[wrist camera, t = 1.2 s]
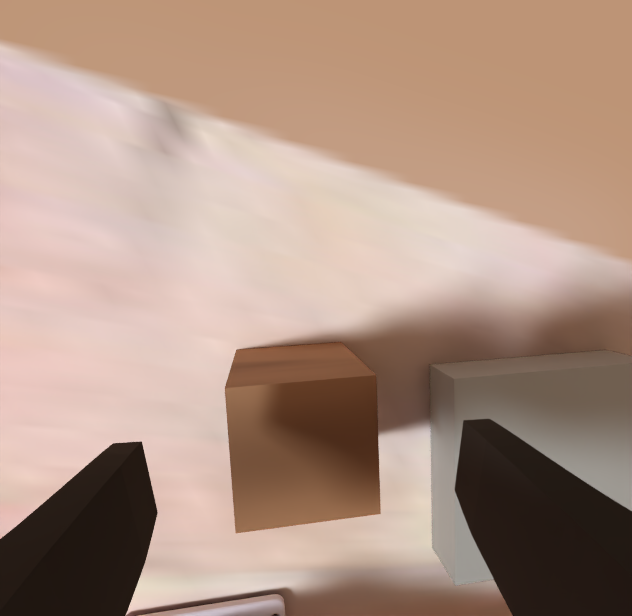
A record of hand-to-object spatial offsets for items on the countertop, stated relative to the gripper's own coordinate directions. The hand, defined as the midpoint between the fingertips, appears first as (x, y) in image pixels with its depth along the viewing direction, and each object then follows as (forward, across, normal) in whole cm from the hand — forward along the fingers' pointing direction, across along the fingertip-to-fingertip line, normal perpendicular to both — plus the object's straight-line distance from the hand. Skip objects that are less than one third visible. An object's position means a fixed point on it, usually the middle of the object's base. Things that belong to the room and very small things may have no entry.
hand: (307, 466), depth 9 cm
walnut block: (+9, 0, +4) cm, 10 cm away
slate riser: (+10, -12, +8) cm, 17 cm away
